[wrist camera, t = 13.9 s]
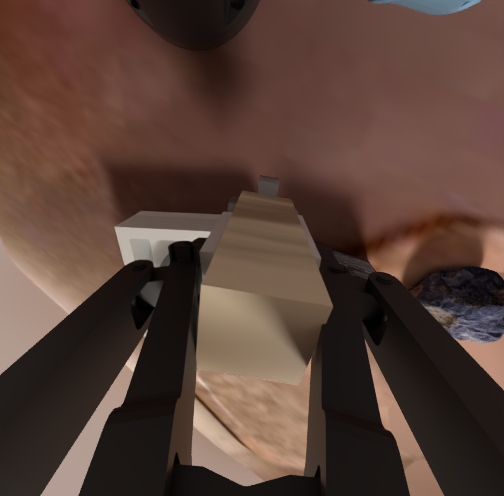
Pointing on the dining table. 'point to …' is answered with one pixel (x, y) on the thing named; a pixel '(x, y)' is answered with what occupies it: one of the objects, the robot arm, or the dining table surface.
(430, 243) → the dining table surface
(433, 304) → the rock
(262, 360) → the long wooden block
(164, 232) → the white open square box
